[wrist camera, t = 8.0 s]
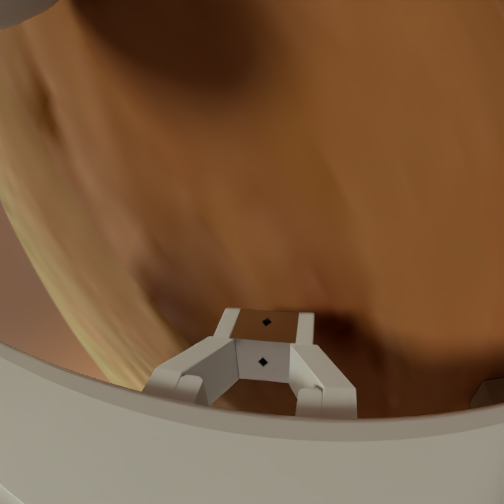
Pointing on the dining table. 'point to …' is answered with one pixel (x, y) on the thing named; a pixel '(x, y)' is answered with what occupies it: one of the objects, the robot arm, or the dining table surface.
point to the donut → (21, 10)
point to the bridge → (489, 394)
